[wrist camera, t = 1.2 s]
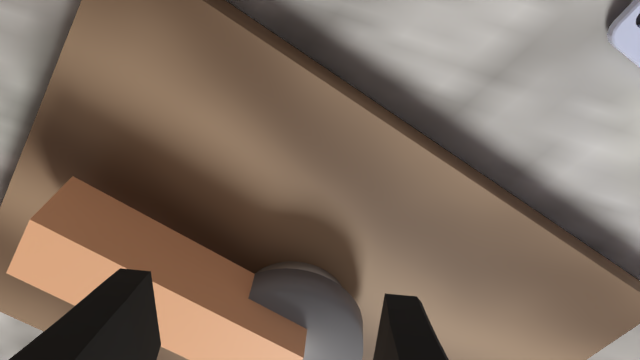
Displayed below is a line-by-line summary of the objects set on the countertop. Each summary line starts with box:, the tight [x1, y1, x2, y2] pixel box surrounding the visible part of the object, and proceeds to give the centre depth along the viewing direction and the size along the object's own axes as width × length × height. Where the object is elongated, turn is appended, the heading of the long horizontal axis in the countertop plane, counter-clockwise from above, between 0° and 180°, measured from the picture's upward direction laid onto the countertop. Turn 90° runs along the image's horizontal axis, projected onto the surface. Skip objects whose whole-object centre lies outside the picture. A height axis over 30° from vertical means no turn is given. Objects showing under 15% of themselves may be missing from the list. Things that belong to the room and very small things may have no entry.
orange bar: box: [6, 176, 363, 360], centre depth 17 cm, size 12×5×2 cm, turn 56°
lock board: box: [0, 0, 640, 360], centre depth 20 cm, size 17×22×2 cm
